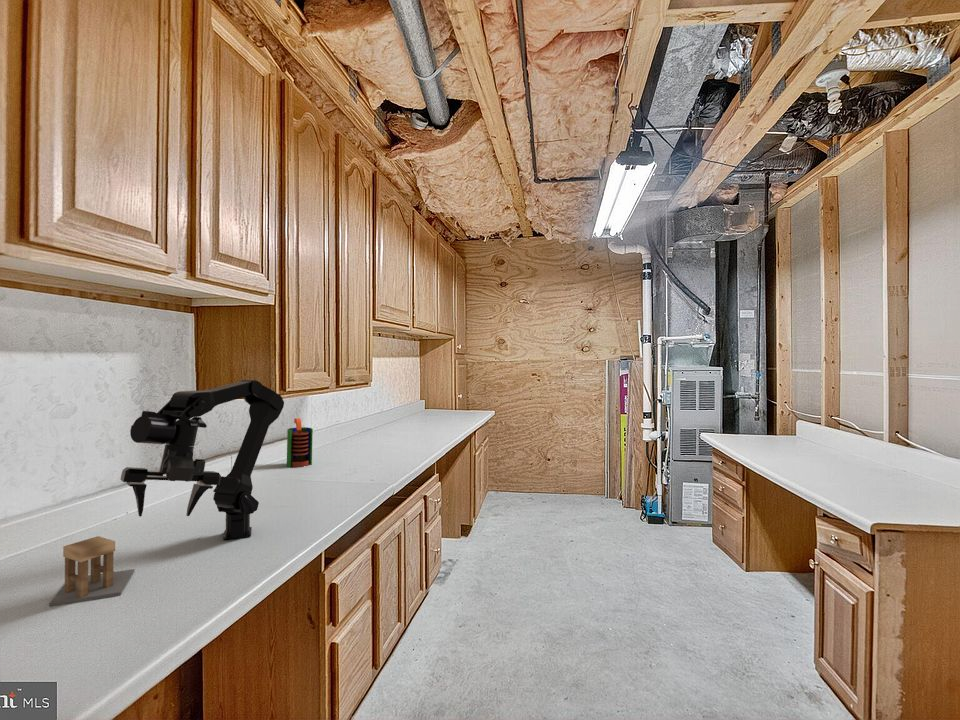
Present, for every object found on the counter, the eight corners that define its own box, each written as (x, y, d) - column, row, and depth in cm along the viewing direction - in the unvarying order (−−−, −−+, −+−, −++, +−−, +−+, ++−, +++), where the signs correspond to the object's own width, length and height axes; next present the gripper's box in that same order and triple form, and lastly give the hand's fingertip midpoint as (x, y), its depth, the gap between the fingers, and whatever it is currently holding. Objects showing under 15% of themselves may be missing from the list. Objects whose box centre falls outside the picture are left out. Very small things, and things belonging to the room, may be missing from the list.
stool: (97, 579, 99) (98, 536, 99) (114, 585, 97) (115, 541, 97) (62, 591, 94) (63, 546, 94) (80, 598, 92) (80, 552, 91)
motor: (293, 468, 199) (294, 421, 199) (281, 465, 204) (282, 419, 204) (314, 464, 207) (315, 418, 207) (303, 461, 213) (303, 416, 212)
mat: (70, 580, 100) (70, 577, 100) (134, 571, 104) (134, 569, 104) (49, 606, 90) (49, 603, 90) (120, 595, 94) (120, 592, 94)
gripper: (136, 443, 98) (117, 522, 95) (233, 450, 110) (219, 521, 107) (129, 441, 106) (111, 514, 103) (220, 448, 118) (206, 513, 115)
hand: (164, 516), depth 107 cm, fingers open, 9 cm apart
